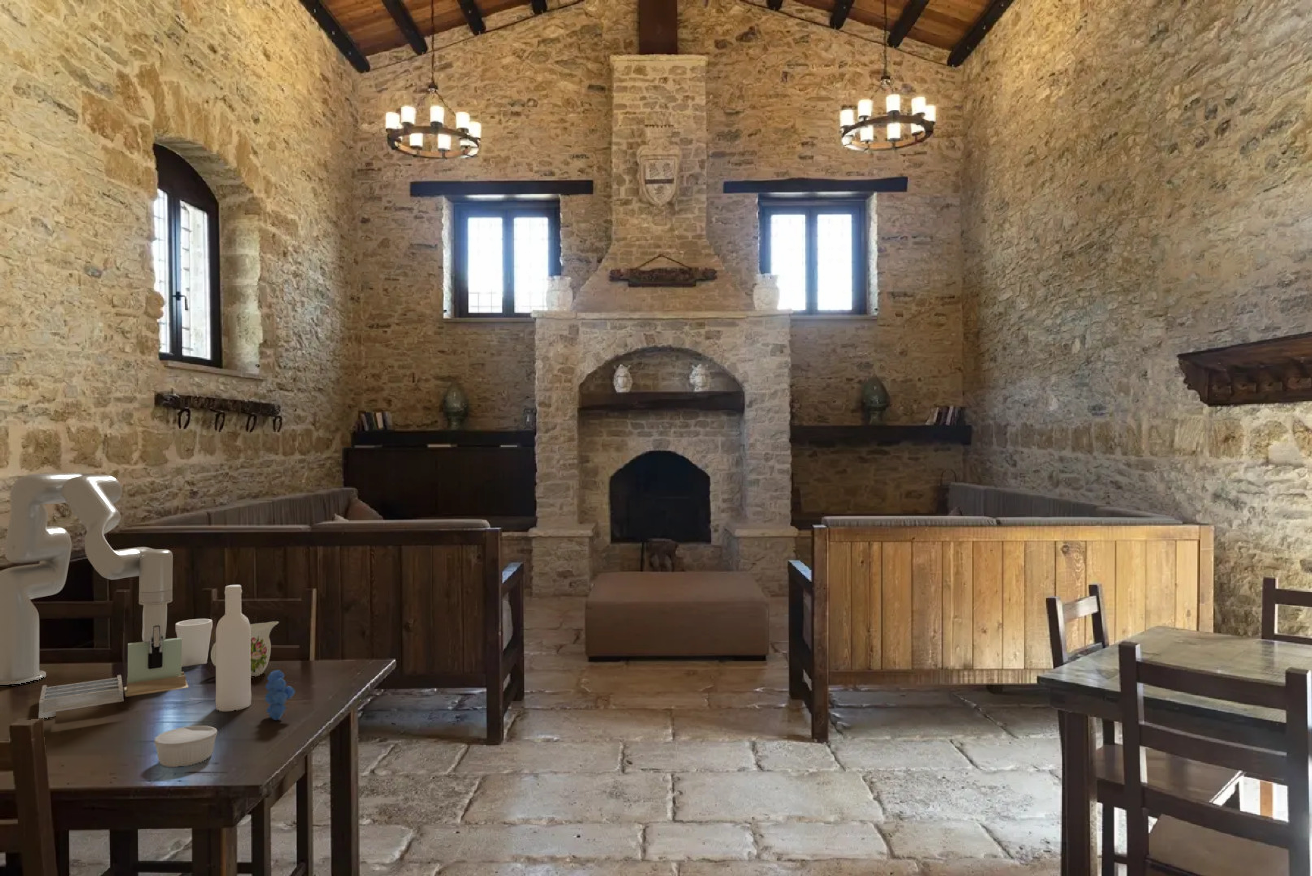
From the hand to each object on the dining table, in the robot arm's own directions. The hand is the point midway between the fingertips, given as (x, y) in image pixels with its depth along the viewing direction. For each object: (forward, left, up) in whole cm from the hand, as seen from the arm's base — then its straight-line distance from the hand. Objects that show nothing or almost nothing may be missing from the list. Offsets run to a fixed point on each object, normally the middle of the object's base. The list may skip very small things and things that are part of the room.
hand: (154, 666), depth 217 cm
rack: (0, -16, -7) cm, 17 cm away
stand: (0, 0, -7) cm, 7 cm away
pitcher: (-5, +22, -7) cm, 24 cm away
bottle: (+25, +15, -7) cm, 31 cm away
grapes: (+42, +23, -7) cm, 49 cm away
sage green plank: (0, 0, -3) cm, 3 cm away
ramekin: (+58, +2, -7) cm, 59 cm away
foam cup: (-25, +11, -7) cm, 28 cm away
